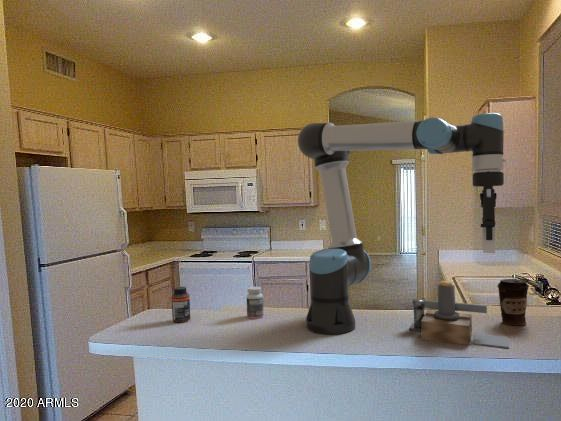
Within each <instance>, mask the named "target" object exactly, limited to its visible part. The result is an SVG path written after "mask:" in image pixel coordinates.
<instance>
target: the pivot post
mask: <svg viewBox="0 0 561 421" xmlns="http://www.w3.org/2000/svg"><path fill="white" fill-rule="evenodd" d="M424 315H425V308H414V307H413V322H412V323H411V324H410V326H409V327H408V330H409V331H414V330H415V332H421V320H422V319H423V317H424Z"/></svg>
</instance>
